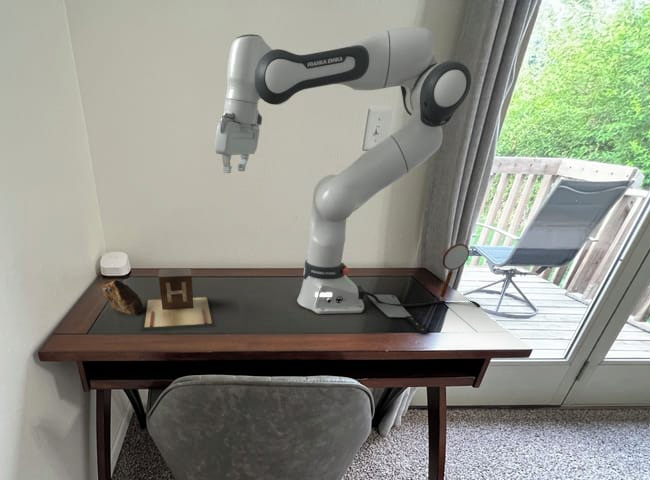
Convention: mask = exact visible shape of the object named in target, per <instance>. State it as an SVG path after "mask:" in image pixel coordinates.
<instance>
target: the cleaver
mask: <svg viewBox="0 0 650 480" xmlns="http://www.w3.org/2000/svg"><path fill="white" fill-rule="evenodd" d="M372 294H373V293H372ZM373 295H375V296H376V297H377V298H378V299H379V300H380V301H382V302H384V303H389V304H401V302H400V301H399V299H398V297H397V296H396V295H392V294H373ZM366 296H367V297H368V298H369V299H370V301H371V302H372V303H373V304H374V305H375V306H376V307H377V308H378V309H379V310H380V311H381V312H382V313H384V315H386V316H387V317H388V318H405V319H407V321H409V323H411V324H412V325H413V327H414V328H415V331H416V332H417V333H420V334H422V335H426V334H427V333H428V329H426V328H425V327H424V326H423V325H422V324H421V323H420V322H419V321H418V320H417V319H416V318H414V316H412V315H411V314H410V313H409V312H408V311H407V309H406V308H405V307H403V306H394V305H389V304H382V303H378V302H377V301H376V300H375V299H374V298H373V297H371V296H369V295H366Z"/></svg>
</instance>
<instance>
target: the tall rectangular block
mask: <svg viewBox="0 0 650 480" xmlns="http://www.w3.org/2000/svg"><path fill="white" fill-rule="evenodd" d="M158 283H159V293H160V299H161V301H162V310H167V309H186V308H194V307H193V298H194V294H193V293H194V292H193V291H194V290H193V277H192V269H191V268H190V267H189V268H187V267H186V268H162V269H161V268H160V269H159V270H158Z"/></svg>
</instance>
